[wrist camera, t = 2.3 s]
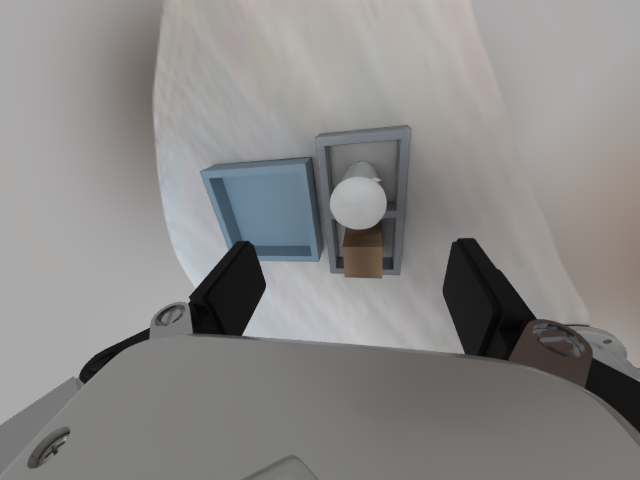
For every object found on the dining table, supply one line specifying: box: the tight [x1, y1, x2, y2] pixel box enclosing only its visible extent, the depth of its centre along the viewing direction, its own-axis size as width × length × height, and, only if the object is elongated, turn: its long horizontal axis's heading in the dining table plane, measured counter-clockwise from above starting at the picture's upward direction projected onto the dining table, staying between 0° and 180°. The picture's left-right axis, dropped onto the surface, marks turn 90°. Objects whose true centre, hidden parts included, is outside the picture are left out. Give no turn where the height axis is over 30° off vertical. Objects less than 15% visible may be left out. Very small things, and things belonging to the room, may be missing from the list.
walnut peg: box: [343, 220, 383, 278], centre depth 27 cm, size 4×4×6 cm
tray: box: [200, 157, 323, 262], centre depth 29 cm, size 12×12×3 cm
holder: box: [315, 125, 411, 275], centre depth 27 cm, size 9×16×2 cm, turn 7°
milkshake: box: [330, 161, 387, 229], centre depth 22 cm, size 4×5×10 cm
